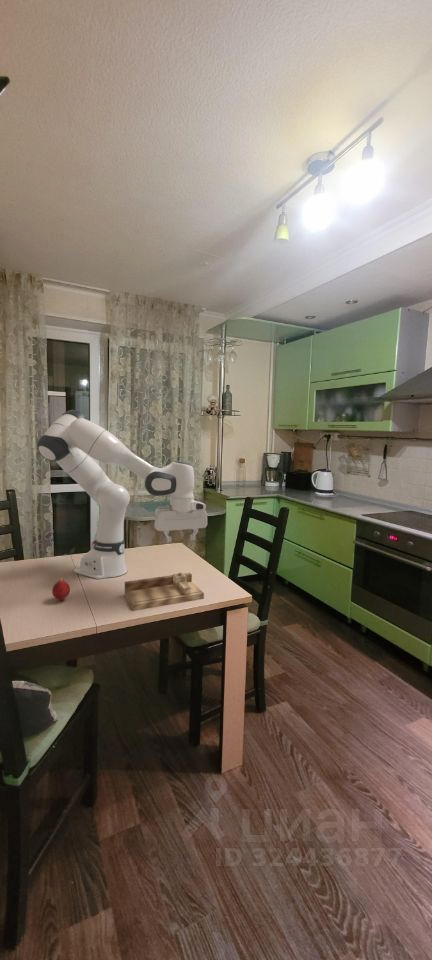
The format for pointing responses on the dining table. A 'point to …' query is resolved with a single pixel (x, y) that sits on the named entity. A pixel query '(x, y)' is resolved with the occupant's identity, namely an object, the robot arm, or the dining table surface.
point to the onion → (60, 589)
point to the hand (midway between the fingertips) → (180, 540)
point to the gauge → (181, 583)
